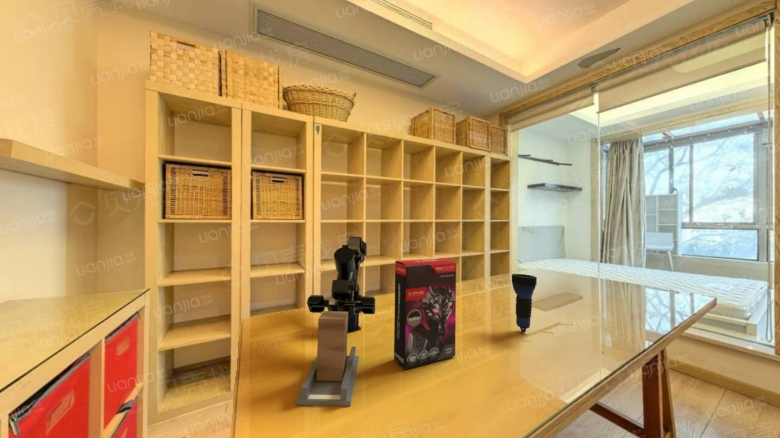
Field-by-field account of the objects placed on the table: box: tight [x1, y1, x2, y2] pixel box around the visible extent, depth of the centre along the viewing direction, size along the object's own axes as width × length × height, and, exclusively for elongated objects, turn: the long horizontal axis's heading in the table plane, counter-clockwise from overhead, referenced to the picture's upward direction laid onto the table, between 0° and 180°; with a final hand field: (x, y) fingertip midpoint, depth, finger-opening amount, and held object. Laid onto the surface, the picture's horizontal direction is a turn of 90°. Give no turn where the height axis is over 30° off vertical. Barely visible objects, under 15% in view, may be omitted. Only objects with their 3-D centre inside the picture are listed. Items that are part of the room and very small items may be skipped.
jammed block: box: [316, 310, 348, 381], centre depth 62 cm, size 5×6×14 cm
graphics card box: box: [393, 257, 457, 370], centre depth 74 cm, size 17×7×27 cm, turn 117°
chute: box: [295, 345, 360, 407], centre depth 63 cm, size 18×11×4 cm, turn 1°
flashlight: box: [511, 273, 538, 334], centre depth 94 cm, size 8×8×20 cm
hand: (337, 335), depth 69 cm, fingers closed
